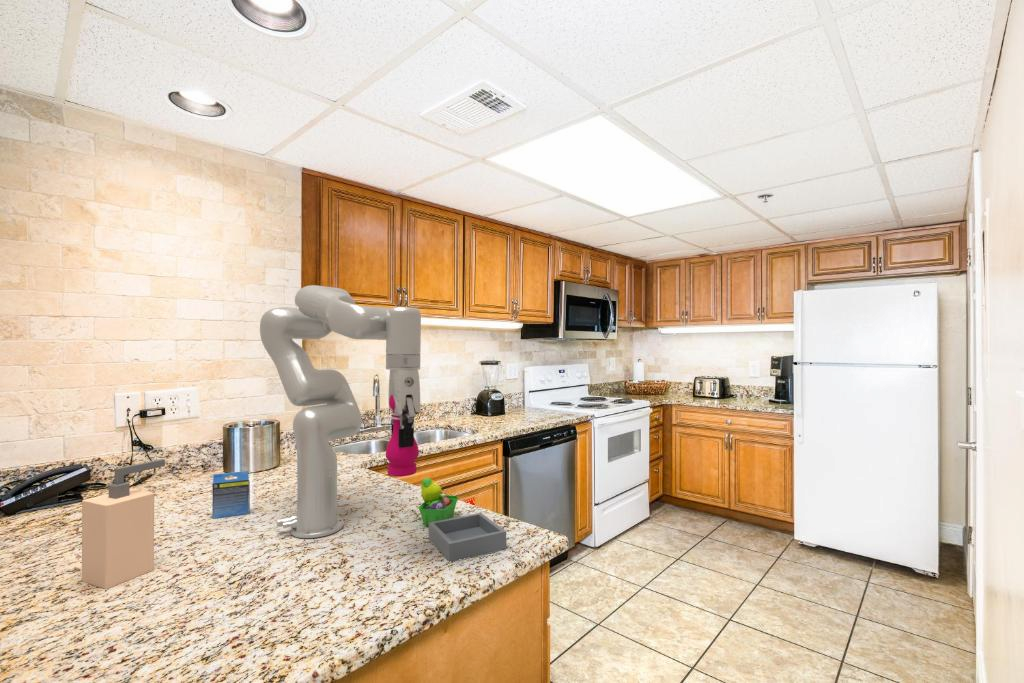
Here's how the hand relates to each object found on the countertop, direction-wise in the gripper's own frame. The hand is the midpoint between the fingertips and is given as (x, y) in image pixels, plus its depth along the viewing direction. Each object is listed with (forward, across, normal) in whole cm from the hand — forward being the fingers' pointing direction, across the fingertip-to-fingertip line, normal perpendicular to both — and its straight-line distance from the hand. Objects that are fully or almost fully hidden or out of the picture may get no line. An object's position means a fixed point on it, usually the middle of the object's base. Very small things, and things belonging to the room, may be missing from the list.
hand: (402, 443), depth 104 cm
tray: (+25, -1, -16) cm, 30 cm away
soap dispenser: (+26, +21, +52) cm, 62 cm away
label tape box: (+27, +49, +34) cm, 66 cm away
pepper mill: (+7, 0, 0) cm, 7 cm away
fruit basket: (+26, +17, -14) cm, 34 cm away
